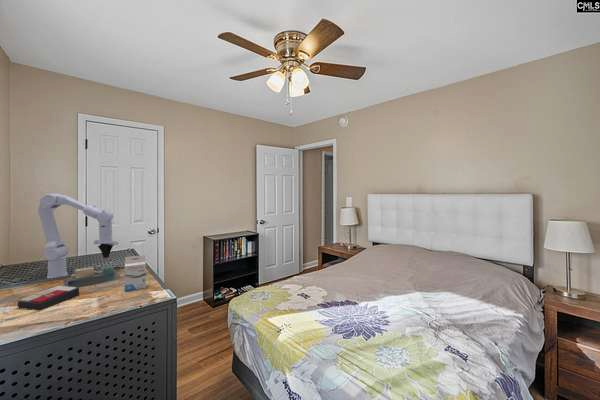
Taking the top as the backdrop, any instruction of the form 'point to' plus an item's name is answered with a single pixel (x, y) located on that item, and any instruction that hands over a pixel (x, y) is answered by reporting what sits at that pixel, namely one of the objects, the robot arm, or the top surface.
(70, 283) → the vise base
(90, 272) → the birch block
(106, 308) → the top surface
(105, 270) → the sliding jaw
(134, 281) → the ink box
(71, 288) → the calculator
